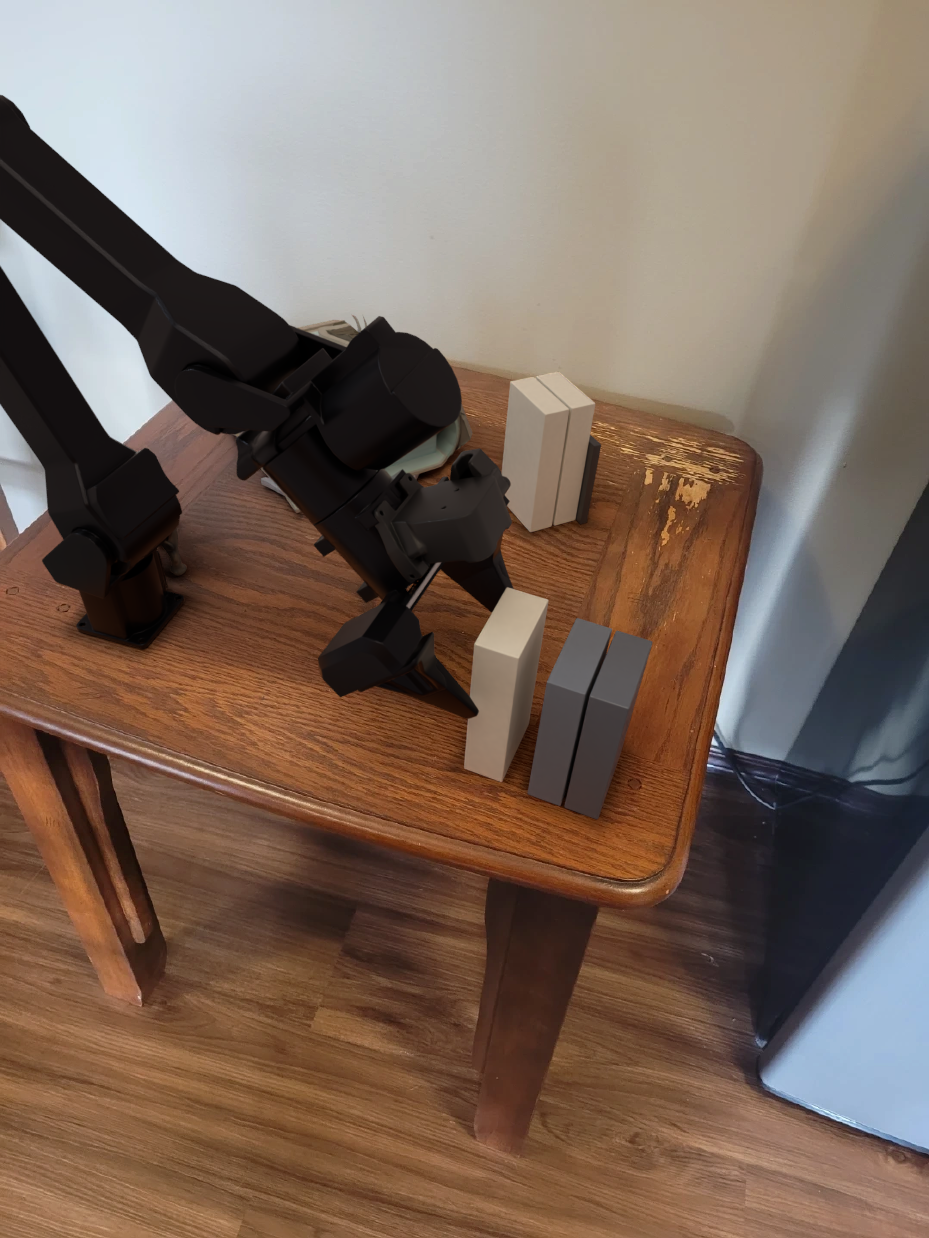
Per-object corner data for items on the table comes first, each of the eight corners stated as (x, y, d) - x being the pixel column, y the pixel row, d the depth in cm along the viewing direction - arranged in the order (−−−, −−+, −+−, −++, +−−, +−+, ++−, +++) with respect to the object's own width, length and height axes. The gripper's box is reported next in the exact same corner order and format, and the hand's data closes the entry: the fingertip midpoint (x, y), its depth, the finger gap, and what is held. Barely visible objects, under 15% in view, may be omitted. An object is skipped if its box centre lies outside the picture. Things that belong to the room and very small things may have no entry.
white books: (534, 537, 82) (550, 419, 73) (495, 493, 87) (505, 377, 78) (587, 522, 84) (608, 405, 76) (546, 480, 90) (562, 365, 81)
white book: (463, 768, 62) (473, 643, 53) (492, 711, 66) (506, 586, 57) (501, 782, 61) (518, 658, 52) (529, 723, 65) (548, 599, 56)
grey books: (527, 794, 61) (546, 681, 52) (554, 730, 65) (576, 617, 57) (597, 820, 59) (629, 709, 51) (620, 753, 64) (653, 640, 56)
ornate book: (481, 480, 91) (348, 354, 107) (489, 400, 84) (346, 279, 100) (286, 546, 81) (173, 397, 98) (277, 462, 74) (157, 317, 91)
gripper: (354, 528, 42) (543, 742, 46) (490, 367, 54) (627, 548, 59) (239, 601, 49) (412, 779, 54) (382, 444, 62) (512, 600, 67)
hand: (498, 668), depth 58 cm, fingers open, 9 cm apart
